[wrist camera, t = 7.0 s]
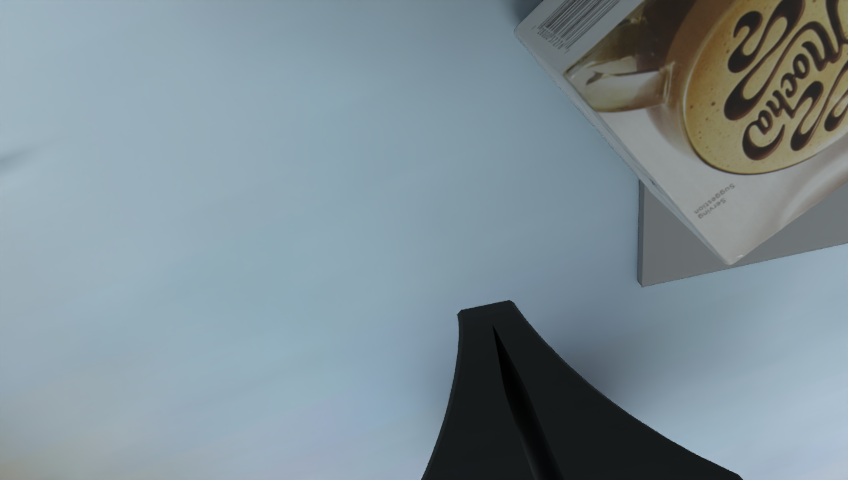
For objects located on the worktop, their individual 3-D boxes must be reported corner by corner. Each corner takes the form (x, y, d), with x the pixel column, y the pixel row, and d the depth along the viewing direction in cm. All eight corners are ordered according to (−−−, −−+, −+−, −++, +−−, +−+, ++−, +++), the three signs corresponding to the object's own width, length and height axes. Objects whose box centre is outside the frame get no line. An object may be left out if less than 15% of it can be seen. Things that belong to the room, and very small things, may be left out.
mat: (926, 218, 26) (936, 224, 26) (637, 280, 27) (642, 287, 26) (1072, -202, 18) (1089, -204, 17) (645, -105, 18) (652, -105, 18)
